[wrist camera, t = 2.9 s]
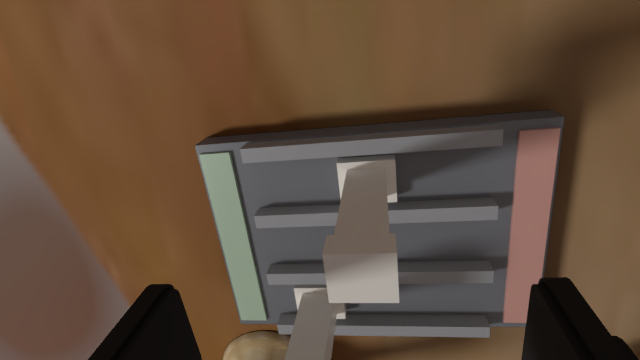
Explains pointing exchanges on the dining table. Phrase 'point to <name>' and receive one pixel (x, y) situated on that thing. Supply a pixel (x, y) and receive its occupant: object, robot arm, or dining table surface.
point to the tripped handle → (363, 234)
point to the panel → (393, 218)
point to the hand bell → (258, 346)
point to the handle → (314, 323)
